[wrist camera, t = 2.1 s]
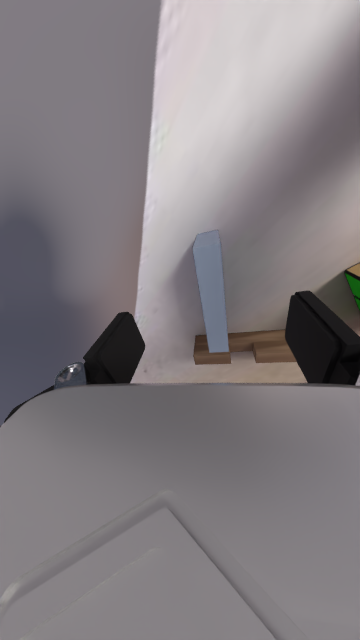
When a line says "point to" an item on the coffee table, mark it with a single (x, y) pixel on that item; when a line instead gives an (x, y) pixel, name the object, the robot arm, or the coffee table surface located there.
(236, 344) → the walnut rail
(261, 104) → the coffee table surface
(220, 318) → the slate plate
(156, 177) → the coffee table surface
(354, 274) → the puzzle cube
